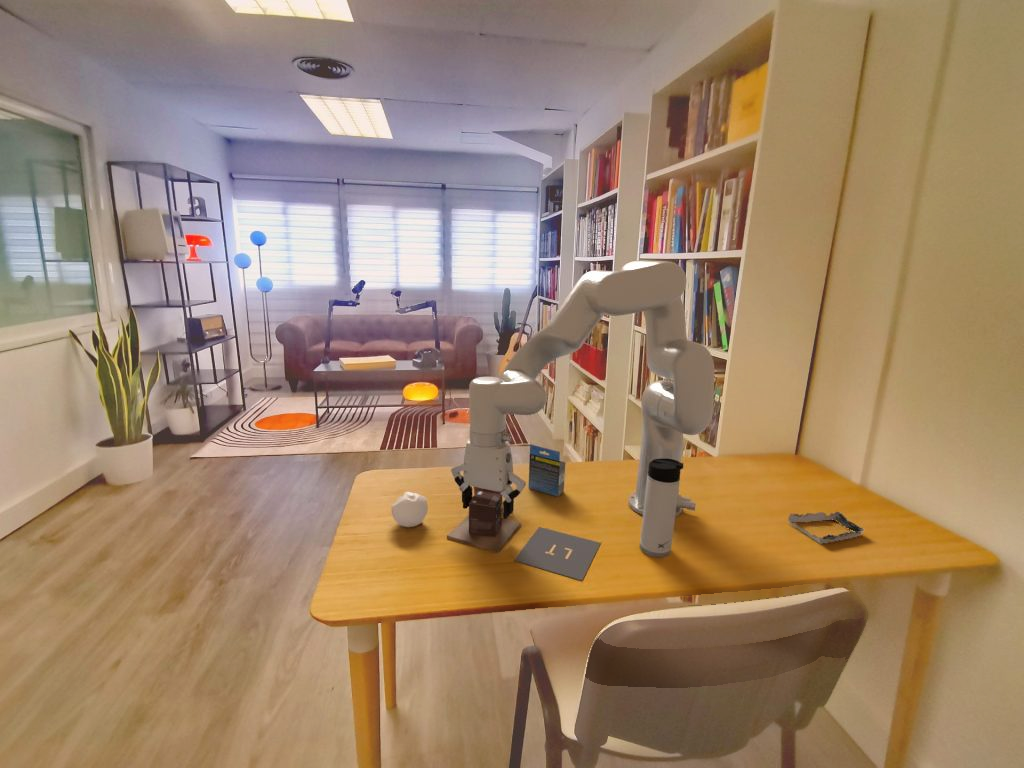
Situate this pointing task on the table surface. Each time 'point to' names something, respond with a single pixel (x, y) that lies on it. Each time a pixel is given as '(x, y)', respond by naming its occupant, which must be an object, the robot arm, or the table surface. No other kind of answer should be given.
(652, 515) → the travel mug
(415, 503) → the white rounded piece
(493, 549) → the walnut pad
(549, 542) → the mat
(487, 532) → the box
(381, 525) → the table surface
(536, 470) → the label tape cartridge
